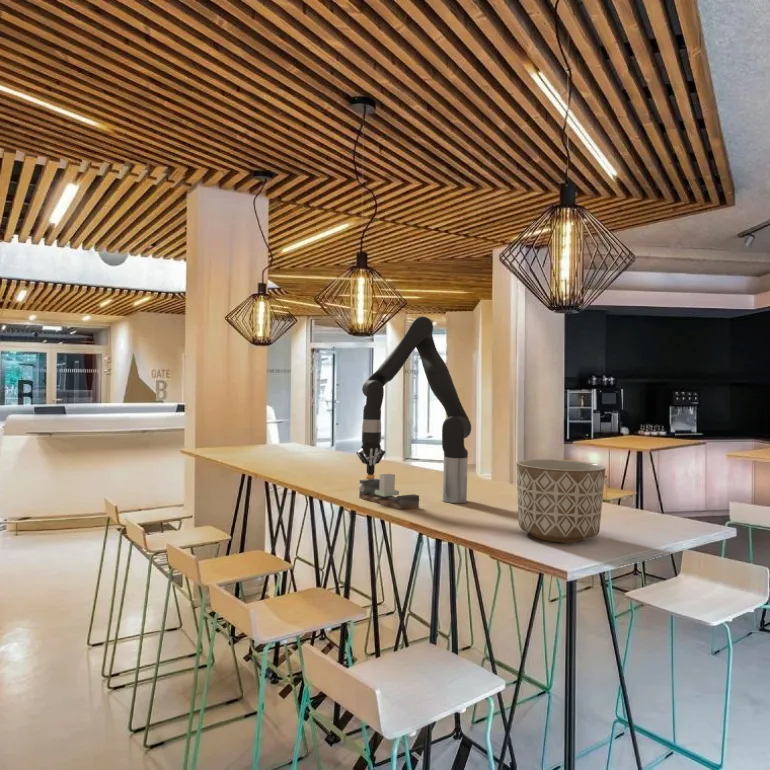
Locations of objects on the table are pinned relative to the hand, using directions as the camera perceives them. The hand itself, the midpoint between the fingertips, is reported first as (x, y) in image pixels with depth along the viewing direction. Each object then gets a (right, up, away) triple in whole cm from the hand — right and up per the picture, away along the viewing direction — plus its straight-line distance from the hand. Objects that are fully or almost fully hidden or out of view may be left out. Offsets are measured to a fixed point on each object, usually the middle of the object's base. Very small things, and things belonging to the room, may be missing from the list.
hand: (370, 474), depth 246 cm
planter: (+58, -11, -56) cm, 82 cm away
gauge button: (0, -2, 0) cm, 2 cm away
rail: (+7, -9, -10) cm, 15 cm away
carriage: (+6, -6, -9) cm, 13 cm away
